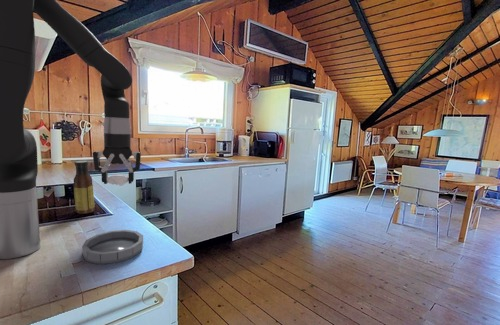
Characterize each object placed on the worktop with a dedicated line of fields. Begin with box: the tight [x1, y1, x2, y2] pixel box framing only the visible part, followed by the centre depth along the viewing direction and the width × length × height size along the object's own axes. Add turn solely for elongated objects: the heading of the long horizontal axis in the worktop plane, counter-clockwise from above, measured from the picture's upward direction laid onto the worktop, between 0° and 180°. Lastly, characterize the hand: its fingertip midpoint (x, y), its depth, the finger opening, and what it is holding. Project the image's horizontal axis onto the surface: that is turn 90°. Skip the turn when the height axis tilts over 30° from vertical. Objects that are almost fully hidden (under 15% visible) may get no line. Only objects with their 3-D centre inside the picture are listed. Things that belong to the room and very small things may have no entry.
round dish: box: [81, 229, 144, 265], centre depth 72 cm, size 15×15×3 cm
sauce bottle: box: [73, 160, 96, 215], centre depth 99 cm, size 7×6×20 cm
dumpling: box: [106, 174, 129, 186], centre depth 85 cm, size 7×5×4 cm
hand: (118, 183), depth 85 cm, fingers closed on dumpling, 6 cm apart
